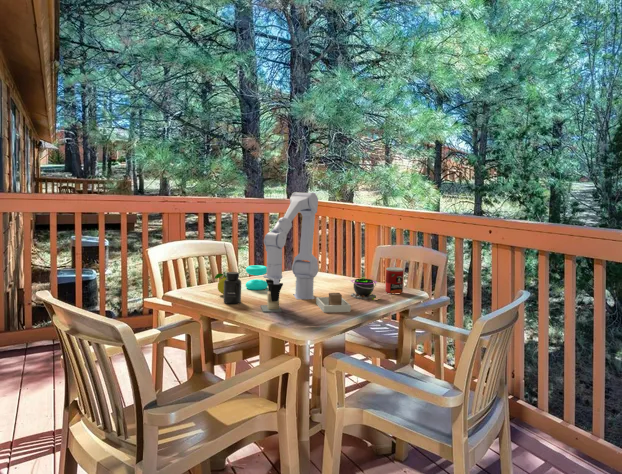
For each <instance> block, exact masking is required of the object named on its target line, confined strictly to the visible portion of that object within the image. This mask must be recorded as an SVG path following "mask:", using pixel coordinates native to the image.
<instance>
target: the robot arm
mask: <svg viewBox="0 0 622 474" xmlns="http://www.w3.org/2000/svg"><path fill="white" fill-rule="evenodd" d="M318 205H319V198H318V196H317V194H316V193H315V192H297V191H294V192H292V194H291V195H290V197H289V206H288V208H287V210H286V212H285V213H284V216H283V217H279V219H278V220H277V221H276V223H275V225H274V226H273V228H272V230H271V231H269V232H267V233H266V234H265V236H264V239H263V244H264V246H265V252H266V267H267V273H266V274H264V275H262V277H263V278H264V279H265V281H266V282H267V285H268V286H267V288H268V291H270V292H271V299H272V302H275V301H278V298H279V299H280V293H281V290H282V288H283V286H284V283H283V282H281V279H283V248H284V247H285V245H286V242H287V239H288V234H289V232H290V230H291V229H292V228H293V223H292V222H293V221H294V219H295V218H296V216H297V215H298V213H300V214H301V217H302V218H301V219H302V220H301V229H300V232H301V234H300V242H299V246H300V247H299V253H298V254H297V255H296V256H294V257H293V258H294V259H293V262H292V265H291V271H292V274H293V275H294V277H295V279H296V280H295V291H294V292H295V293H294V294H293V296H294V298H295V300H316V297H315V296H314V278H316V276H317V275H318V273H319V264H318V262H319V261H318V258H317V257H316V256H315V255H314V254H313V245H314V235H315V234H314V232H315V219H316V218H315V217H316V214H317V213H318V208H319V207H318ZM280 282H281V283H280Z"/></svg>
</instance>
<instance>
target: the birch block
mask: <svg viewBox="0 0 622 474" xmlns="http://www.w3.org/2000/svg"><path fill="white" fill-rule="evenodd" d="M266 298H267V299H266V301H267V302H266V303H267V304H266V305H267V307H268V309H279V306H280V297H279V298H278V301H275V302H272V299H271V292H270V291H269V290H267V297H266Z"/></svg>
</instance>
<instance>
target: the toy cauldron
mask: <svg viewBox="0 0 622 474" xmlns="http://www.w3.org/2000/svg"><path fill="white" fill-rule="evenodd" d="M354 277H356V279H352V280H350V283H351V282H352V283H353V291H354V292H355V293H354V292H353V293H351V294H350V297H352V298H353V299H354V298H355V299H357V300H369V299H370V300H373V301H374V298H376V294H374V293H373V292H374V289H375V287H376V286H377V283H378V282H377V281H376V280H373V279H371V278H373V276H370V277H369V278H366V277H365V276H363V277H359V278H357V274H356V275H354Z"/></svg>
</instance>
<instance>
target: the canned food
mask: <svg viewBox="0 0 622 474" xmlns="http://www.w3.org/2000/svg"><path fill="white" fill-rule="evenodd" d="M384 288H385V293H386V292H387V293H386V294H388V293H403V288H404V268H402V267H395V266H391V267H386V269H385V287H384Z"/></svg>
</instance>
